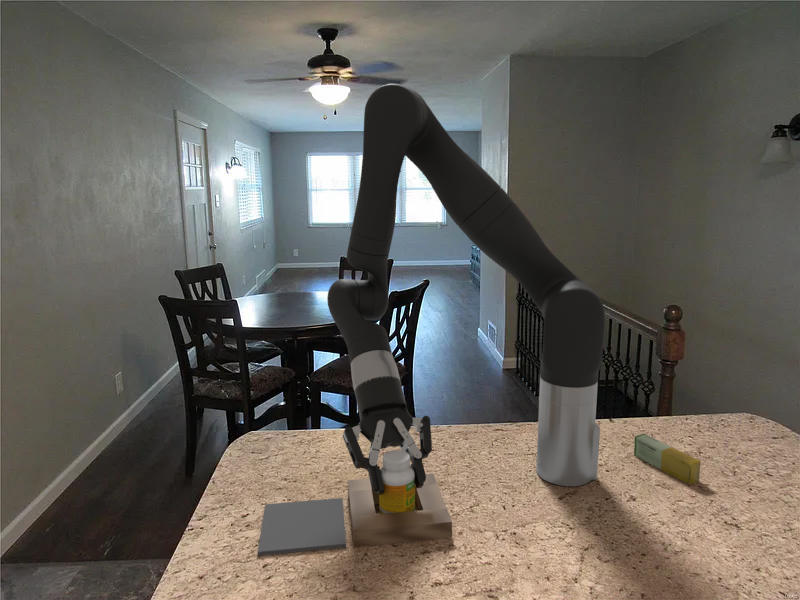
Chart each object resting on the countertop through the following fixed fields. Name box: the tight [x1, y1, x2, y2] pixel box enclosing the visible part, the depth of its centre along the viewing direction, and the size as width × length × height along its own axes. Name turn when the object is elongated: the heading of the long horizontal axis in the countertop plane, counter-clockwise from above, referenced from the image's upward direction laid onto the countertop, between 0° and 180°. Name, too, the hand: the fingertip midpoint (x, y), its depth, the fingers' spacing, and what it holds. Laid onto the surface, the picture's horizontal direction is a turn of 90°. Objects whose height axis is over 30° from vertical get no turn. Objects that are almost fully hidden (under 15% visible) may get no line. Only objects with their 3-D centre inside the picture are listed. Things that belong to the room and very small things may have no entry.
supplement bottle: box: [378, 449, 416, 514], centre depth 88 cm, size 5×5×10 cm
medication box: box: [633, 433, 702, 485], centre depth 103 cm, size 12×3×4 cm, turn 26°
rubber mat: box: [257, 497, 347, 557], centre depth 87 cm, size 12×12×1 cm
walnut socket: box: [347, 473, 453, 548], centre depth 90 cm, size 14×14×2 cm
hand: (400, 489), depth 86 cm, fingers closed on supplement bottle, 5 cm apart
